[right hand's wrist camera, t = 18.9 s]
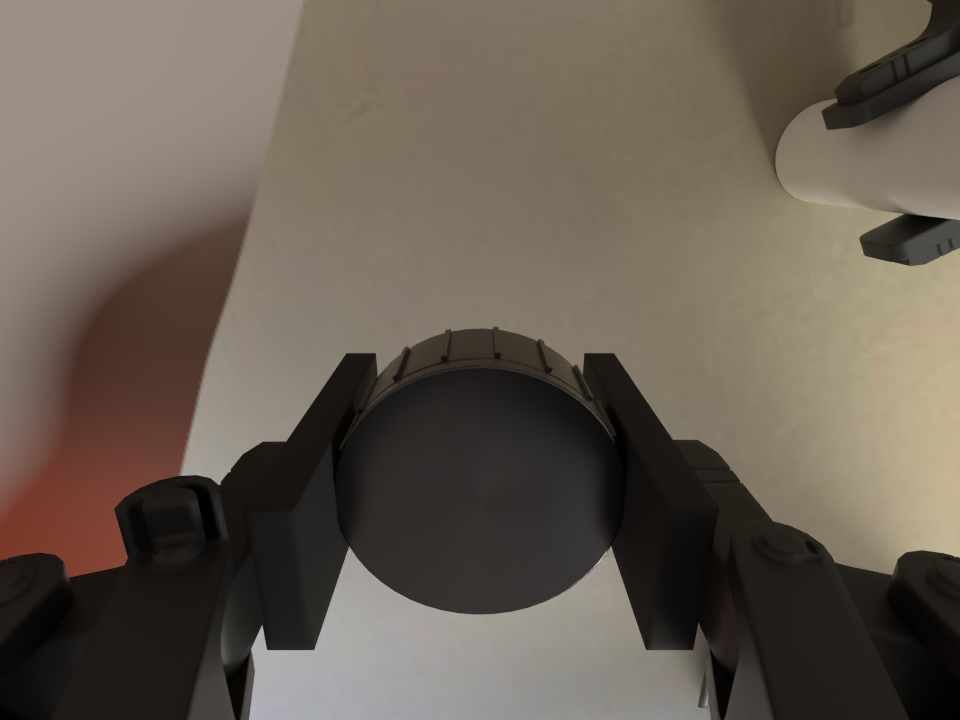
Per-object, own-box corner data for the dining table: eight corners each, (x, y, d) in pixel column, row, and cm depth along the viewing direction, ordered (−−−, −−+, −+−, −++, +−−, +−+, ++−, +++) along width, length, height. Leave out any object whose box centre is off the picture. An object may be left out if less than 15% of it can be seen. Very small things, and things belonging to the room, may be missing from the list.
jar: (776, 211, 26) (1127, 269, 12) (772, 112, 25) (1170, 41, 11) (872, 191, 26) (1352, 223, 12) (874, 89, 25) (1429, -19, 10)
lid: (655, 447, 12) (691, 506, 10) (474, 583, 13) (473, 659, 11) (486, 268, 11) (488, 295, 9) (303, 440, 12) (267, 498, 10)
